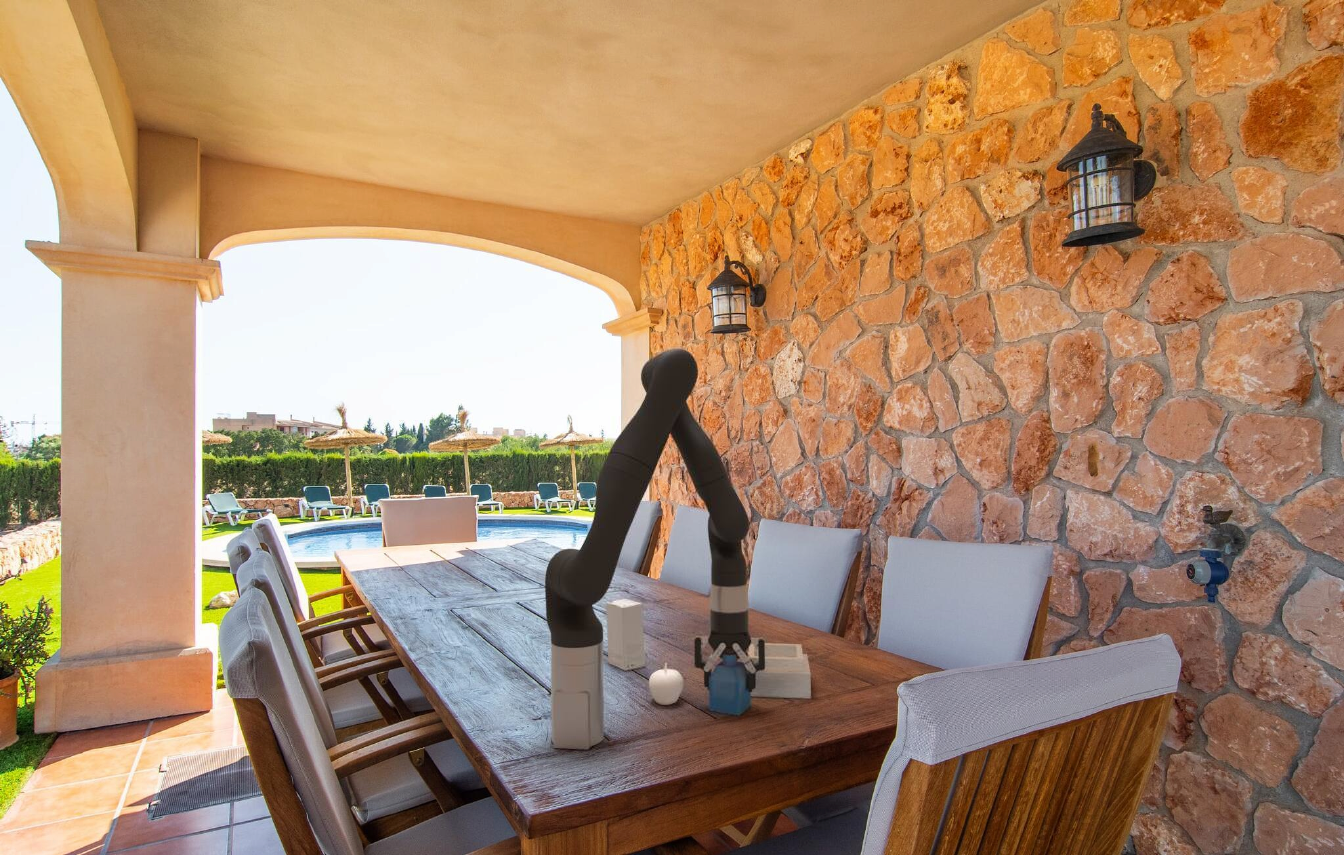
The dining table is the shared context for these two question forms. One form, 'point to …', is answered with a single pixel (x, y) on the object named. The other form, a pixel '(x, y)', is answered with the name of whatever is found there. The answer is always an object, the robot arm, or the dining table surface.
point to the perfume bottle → (729, 686)
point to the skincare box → (625, 634)
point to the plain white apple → (666, 685)
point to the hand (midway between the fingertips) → (730, 689)
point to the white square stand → (782, 672)
